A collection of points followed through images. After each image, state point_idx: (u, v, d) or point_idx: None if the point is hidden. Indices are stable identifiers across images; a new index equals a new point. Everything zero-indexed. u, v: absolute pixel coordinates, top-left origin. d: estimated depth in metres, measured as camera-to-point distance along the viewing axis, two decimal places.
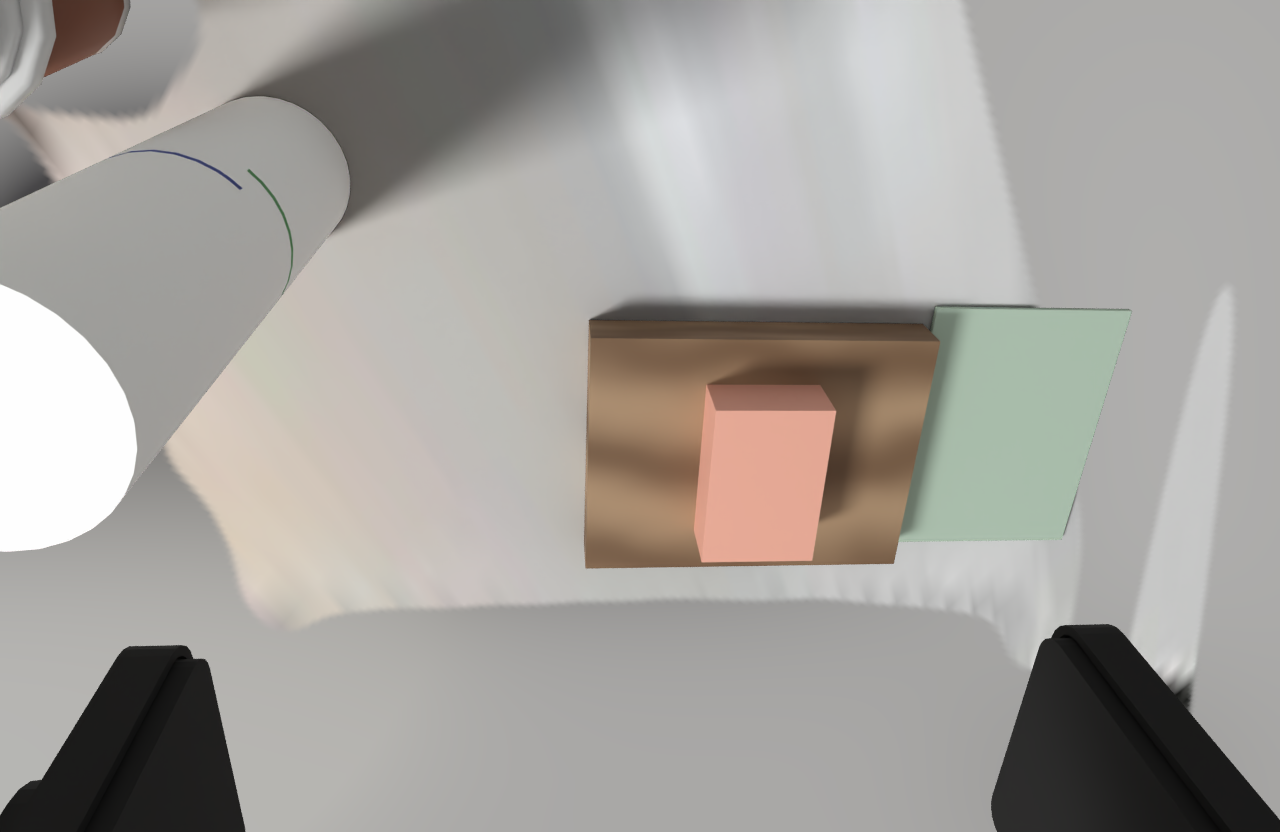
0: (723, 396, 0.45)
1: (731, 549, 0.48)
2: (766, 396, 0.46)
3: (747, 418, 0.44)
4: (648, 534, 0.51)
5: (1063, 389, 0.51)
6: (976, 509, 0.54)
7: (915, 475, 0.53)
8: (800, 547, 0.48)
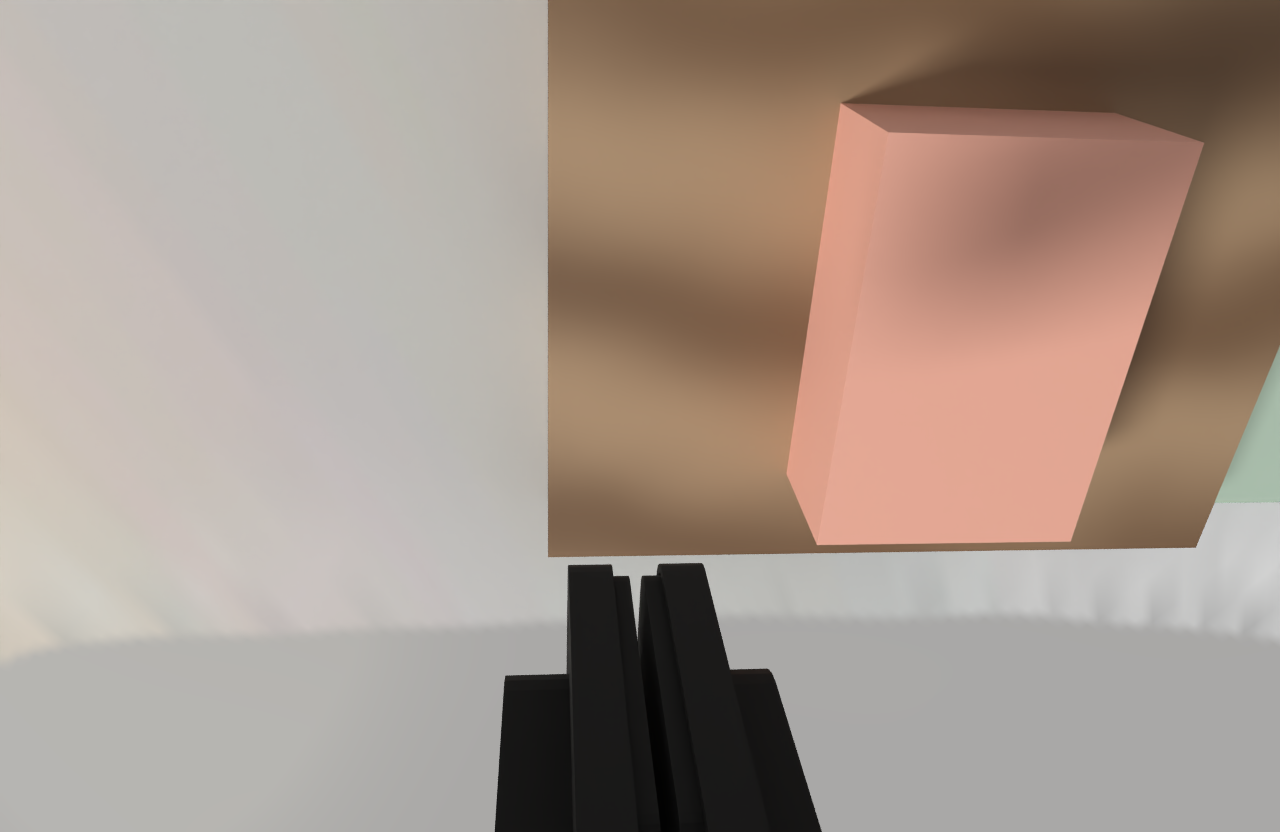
0: (893, 116, 0.17)
1: (890, 515, 0.20)
2: (1002, 120, 0.18)
3: (970, 158, 0.16)
4: (687, 483, 0.23)
5: None
6: None
7: None
8: (1050, 510, 0.20)
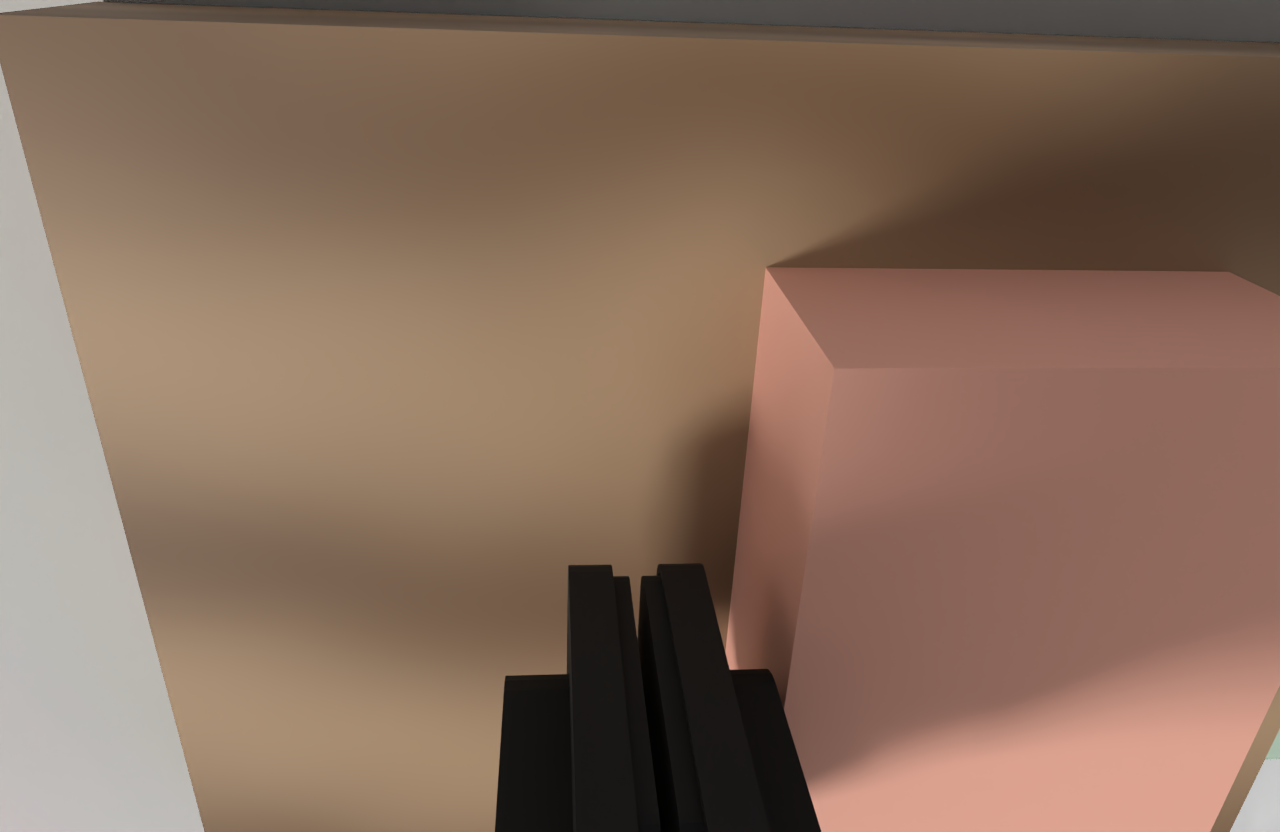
0: (851, 308, 0.10)
1: None
2: (1045, 308, 0.10)
3: (992, 408, 0.09)
4: (425, 812, 0.15)
5: None
6: None
7: None
8: None
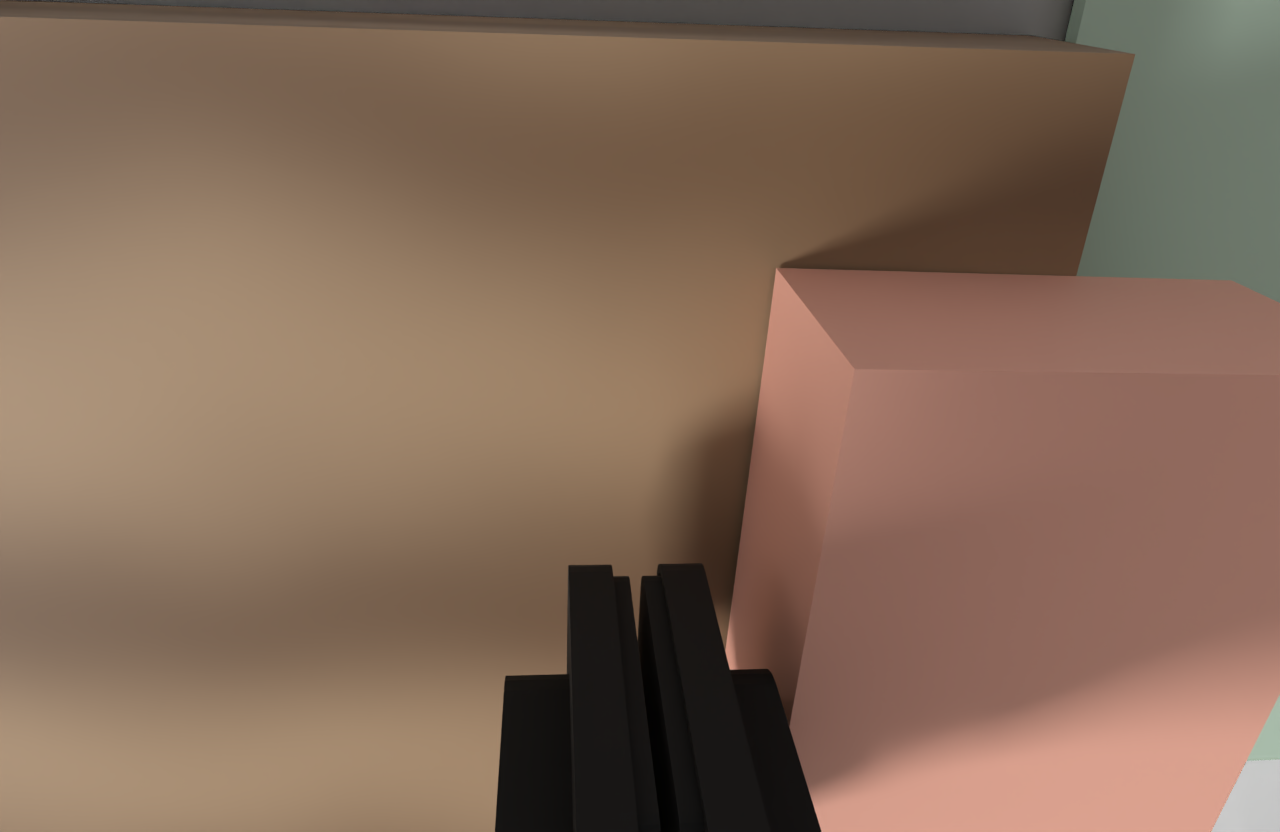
0: (866, 310, 0.10)
1: None
2: (1057, 313, 0.10)
3: (1010, 410, 0.09)
4: (43, 831, 0.14)
5: None
6: None
7: None
8: None
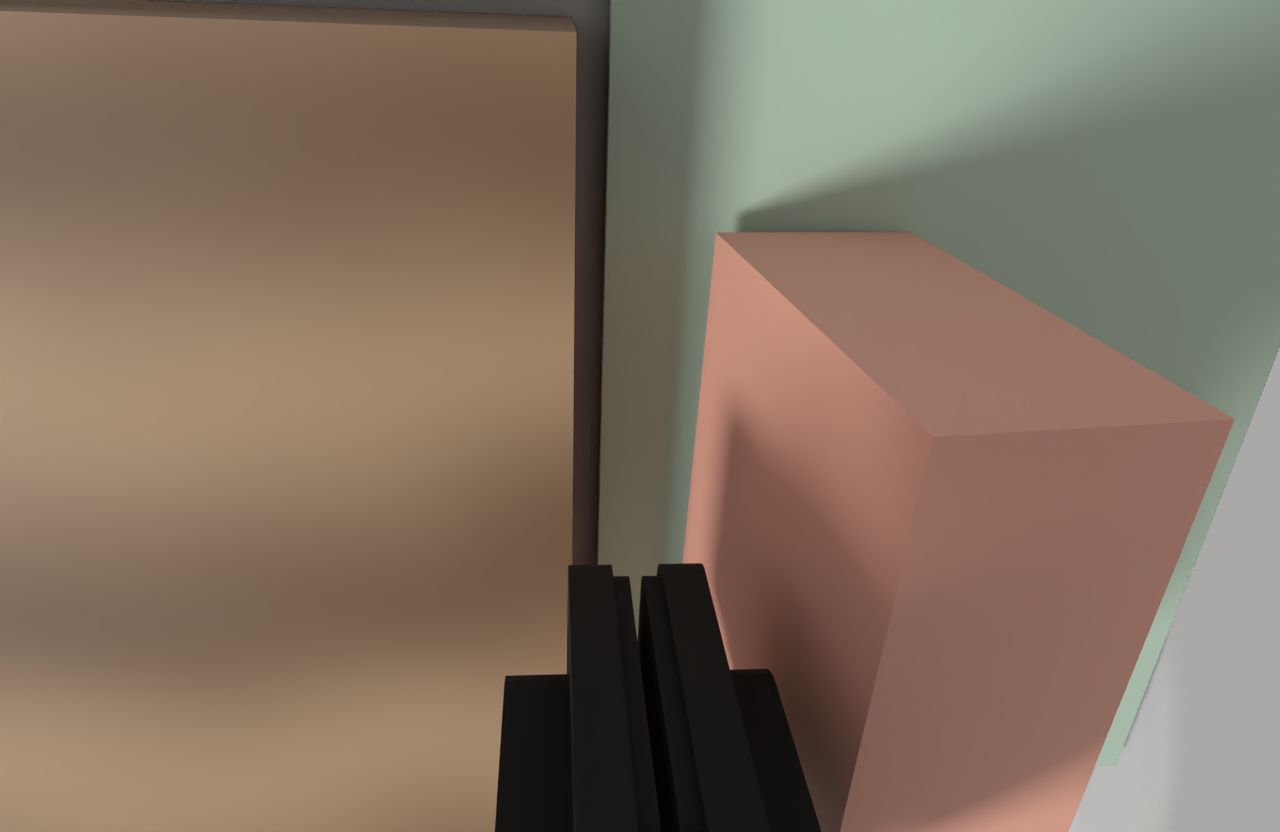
0: (1038, 395, 0.08)
1: None
2: (918, 310, 0.10)
3: None
4: None
5: (1139, 300, 0.14)
6: None
7: (639, 599, 0.16)
8: None
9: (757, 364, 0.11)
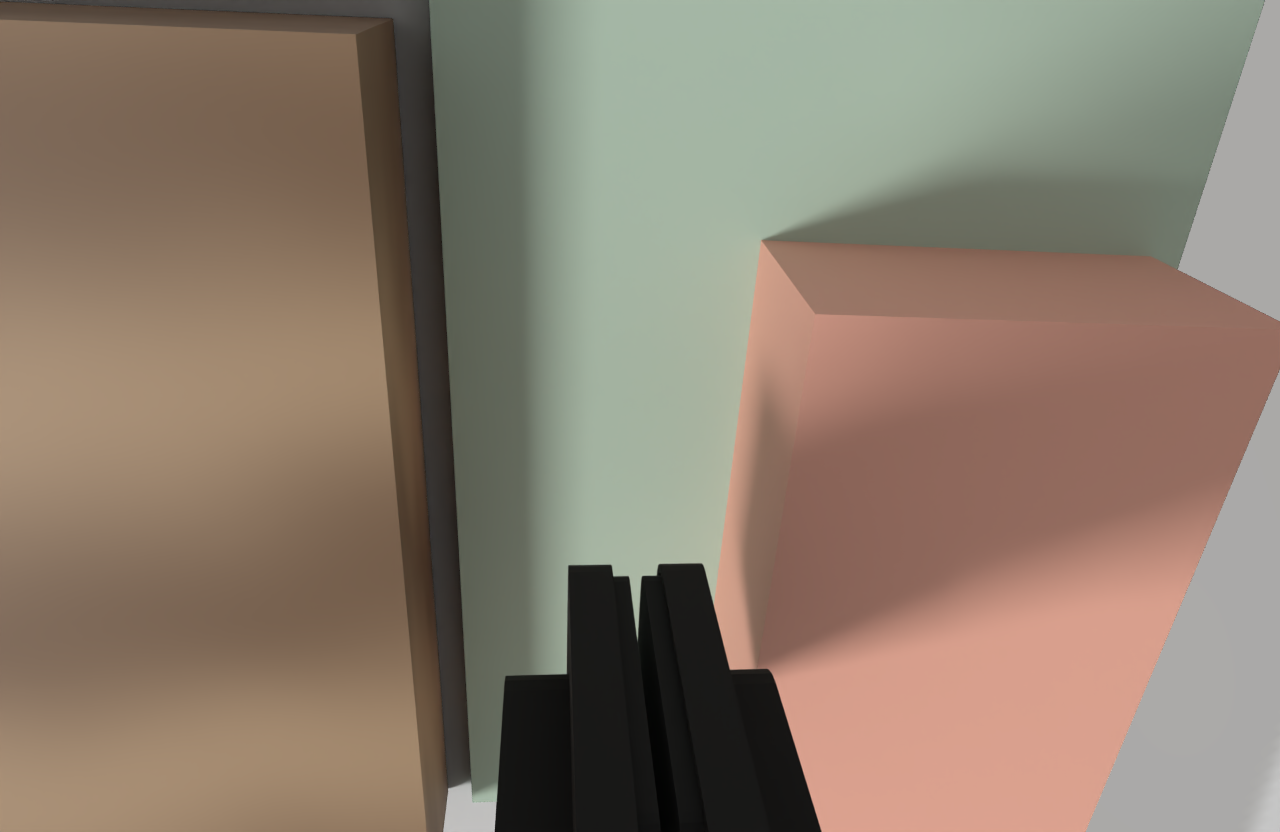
0: (1175, 288, 0.12)
1: None
2: (1020, 283, 0.12)
3: None
4: None
5: None
6: None
7: (506, 611, 0.16)
8: None
9: (971, 402, 0.11)
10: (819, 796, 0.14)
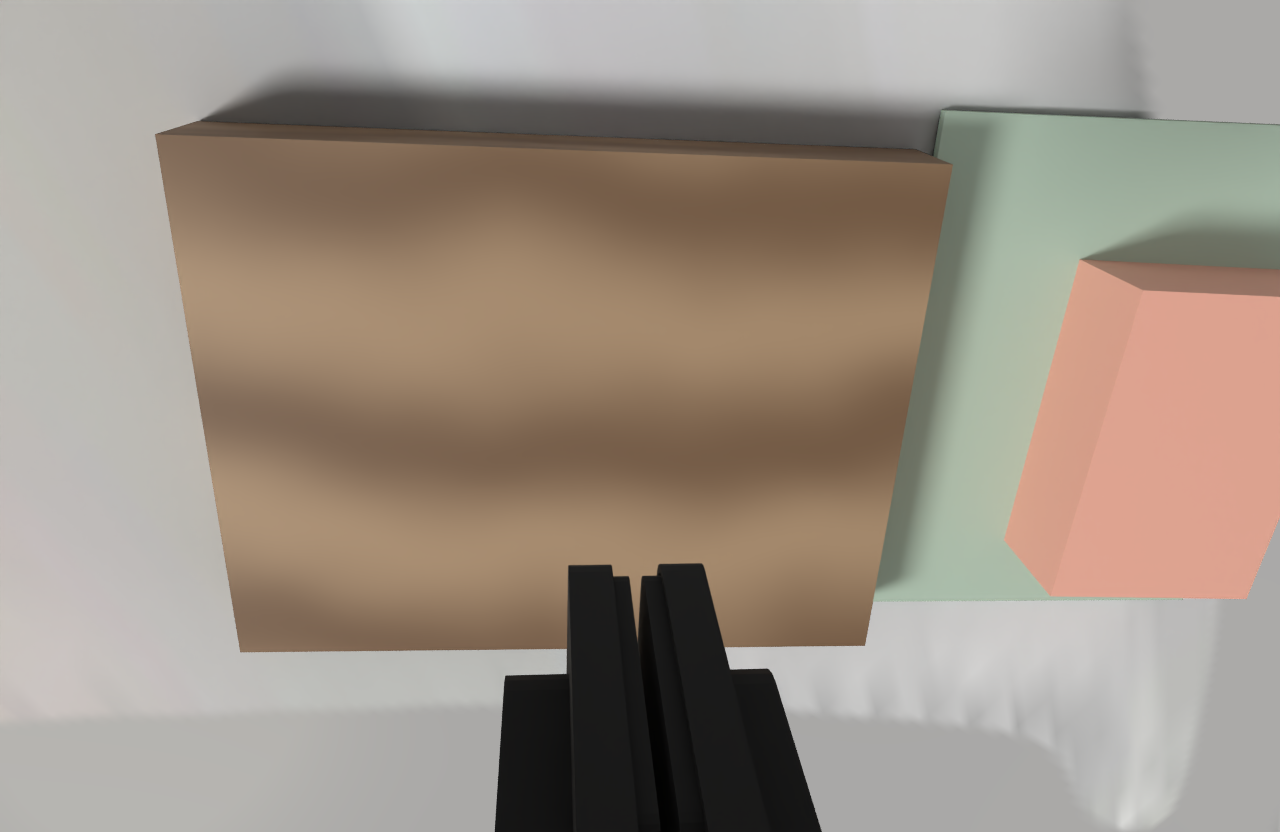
0: None
1: None
2: (1225, 280, 0.24)
3: None
4: (360, 585, 0.25)
5: None
6: None
7: (906, 472, 0.27)
8: None
9: (1210, 335, 0.23)
10: (1105, 563, 0.25)
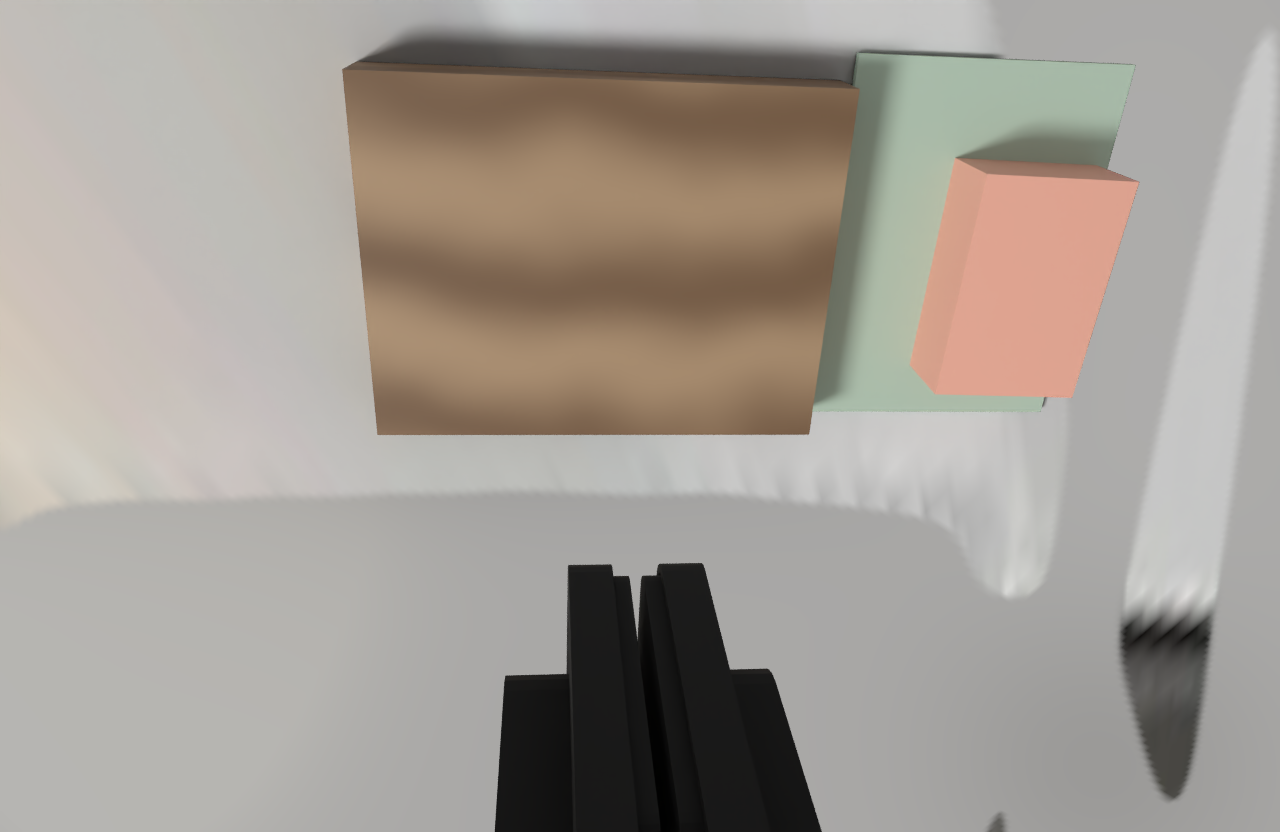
0: (1102, 172, 0.35)
1: None
2: (1049, 170, 0.35)
3: None
4: (461, 385, 0.36)
5: None
6: None
7: (838, 313, 0.39)
8: None
9: (1034, 205, 0.34)
10: (971, 370, 0.37)
